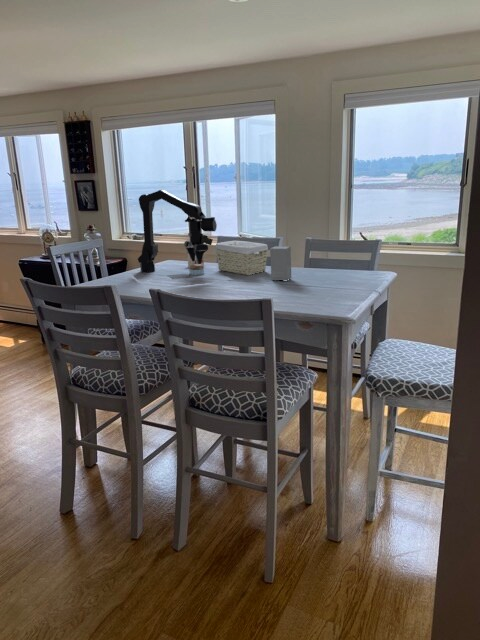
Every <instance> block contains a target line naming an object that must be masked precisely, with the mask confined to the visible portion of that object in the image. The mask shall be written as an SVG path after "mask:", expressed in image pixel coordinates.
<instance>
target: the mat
mask: <svg viewBox="0 0 480 640" xmlns="http://www.w3.org/2000/svg"><path fill="white" fill-rule="evenodd" d="M166 276H167V277H169V278H170V279H172V280H178V279H186V278H187V279H189V278H193V276H192V275H191V274H189V273H177V274H167V275H166Z"/></svg>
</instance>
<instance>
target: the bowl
mask: <svg viewBox="0 0 480 640" xmlns="http://www.w3.org/2000/svg"><path fill="white" fill-rule="evenodd" d="M188 271H189V273H188V275H191V276H192V275H193V276H201V275H204V274H205V268H204V269H201V270H191V269H190V268H188Z"/></svg>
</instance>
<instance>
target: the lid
mask: <svg viewBox="0 0 480 640" xmlns="http://www.w3.org/2000/svg"><path fill="white" fill-rule="evenodd" d="M189 269H191V270H201V269H204V270H205V268H204V267H203V265H201V264H194V265H190V268H189Z"/></svg>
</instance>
